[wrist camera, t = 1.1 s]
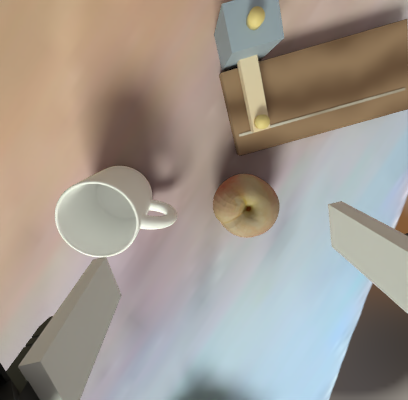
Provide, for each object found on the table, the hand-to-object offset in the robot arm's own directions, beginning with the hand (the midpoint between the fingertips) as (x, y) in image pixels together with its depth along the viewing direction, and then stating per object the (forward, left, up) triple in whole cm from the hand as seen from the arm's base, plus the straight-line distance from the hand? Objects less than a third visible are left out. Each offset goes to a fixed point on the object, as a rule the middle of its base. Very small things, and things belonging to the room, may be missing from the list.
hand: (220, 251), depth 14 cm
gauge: (-10, +8, -21) cm, 25 cm away
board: (-7, +16, -21) cm, 28 cm away
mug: (0, -10, -21) cm, 24 cm away
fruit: (+4, +4, -21) cm, 22 cm away
